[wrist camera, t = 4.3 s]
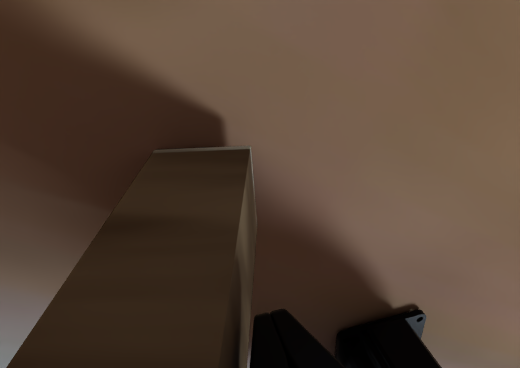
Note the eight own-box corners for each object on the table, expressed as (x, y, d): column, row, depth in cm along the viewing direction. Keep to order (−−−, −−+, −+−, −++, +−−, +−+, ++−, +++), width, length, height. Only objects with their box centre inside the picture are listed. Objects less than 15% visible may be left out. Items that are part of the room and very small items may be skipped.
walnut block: (257, 224, 17) (239, 469, 8) (172, 226, 17) (75, 466, 9) (250, 145, 15) (218, 367, 6) (154, 149, 15) (6, 368, 7)
